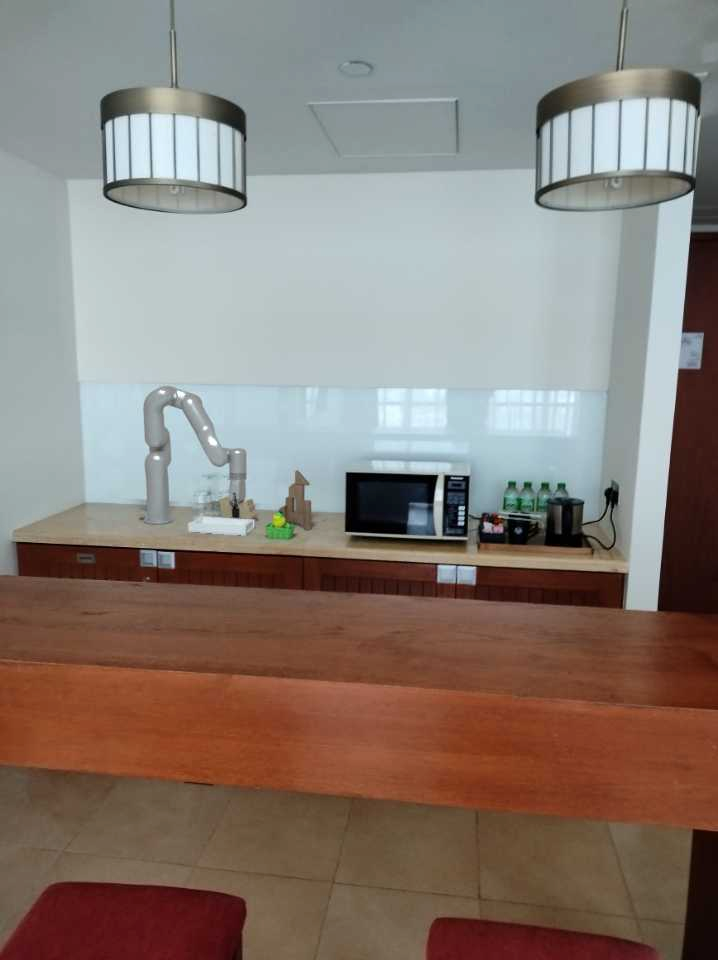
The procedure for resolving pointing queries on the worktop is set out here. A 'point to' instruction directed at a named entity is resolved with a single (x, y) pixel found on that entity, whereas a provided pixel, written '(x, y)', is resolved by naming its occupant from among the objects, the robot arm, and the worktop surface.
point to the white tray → (222, 525)
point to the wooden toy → (297, 503)
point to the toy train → (244, 509)
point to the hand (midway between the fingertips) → (238, 515)
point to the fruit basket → (279, 528)
